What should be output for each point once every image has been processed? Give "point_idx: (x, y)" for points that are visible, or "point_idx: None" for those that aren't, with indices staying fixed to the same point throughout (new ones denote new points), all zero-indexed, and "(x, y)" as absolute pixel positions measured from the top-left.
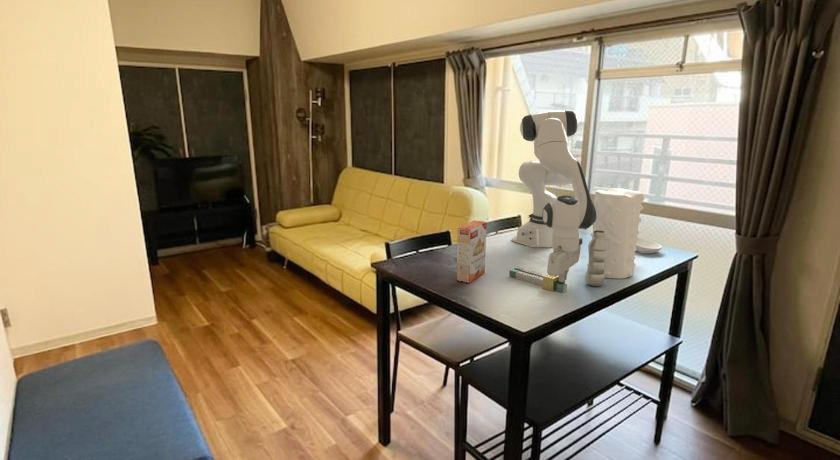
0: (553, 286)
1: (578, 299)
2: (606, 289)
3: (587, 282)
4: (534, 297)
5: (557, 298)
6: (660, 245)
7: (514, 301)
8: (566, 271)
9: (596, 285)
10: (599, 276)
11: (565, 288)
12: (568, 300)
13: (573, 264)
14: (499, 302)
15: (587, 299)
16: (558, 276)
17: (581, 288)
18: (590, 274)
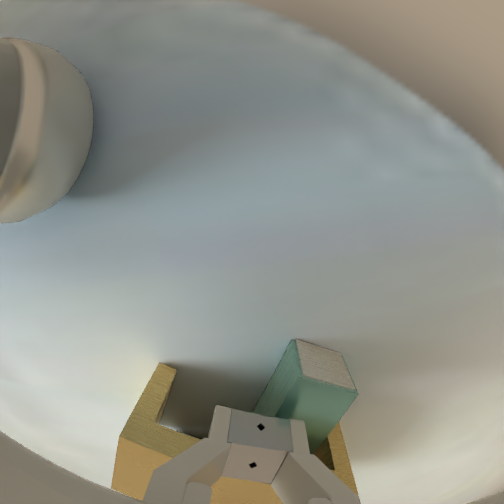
0: (337, 442)
1: (440, 220)
2: (116, 31)
3: (71, 184)
4: (438, 451)
5: (448, 361)
6: None
7: (473, 474)
8: (193, 479)
9: (90, 101)
10: (34, 57)
11: (319, 361)
12: (469, 289)
13: (27, 460)
14: (475, 492)
15: (417, 148)
16: (270, 485)
17: (166, 222)
18: (17, 157)
